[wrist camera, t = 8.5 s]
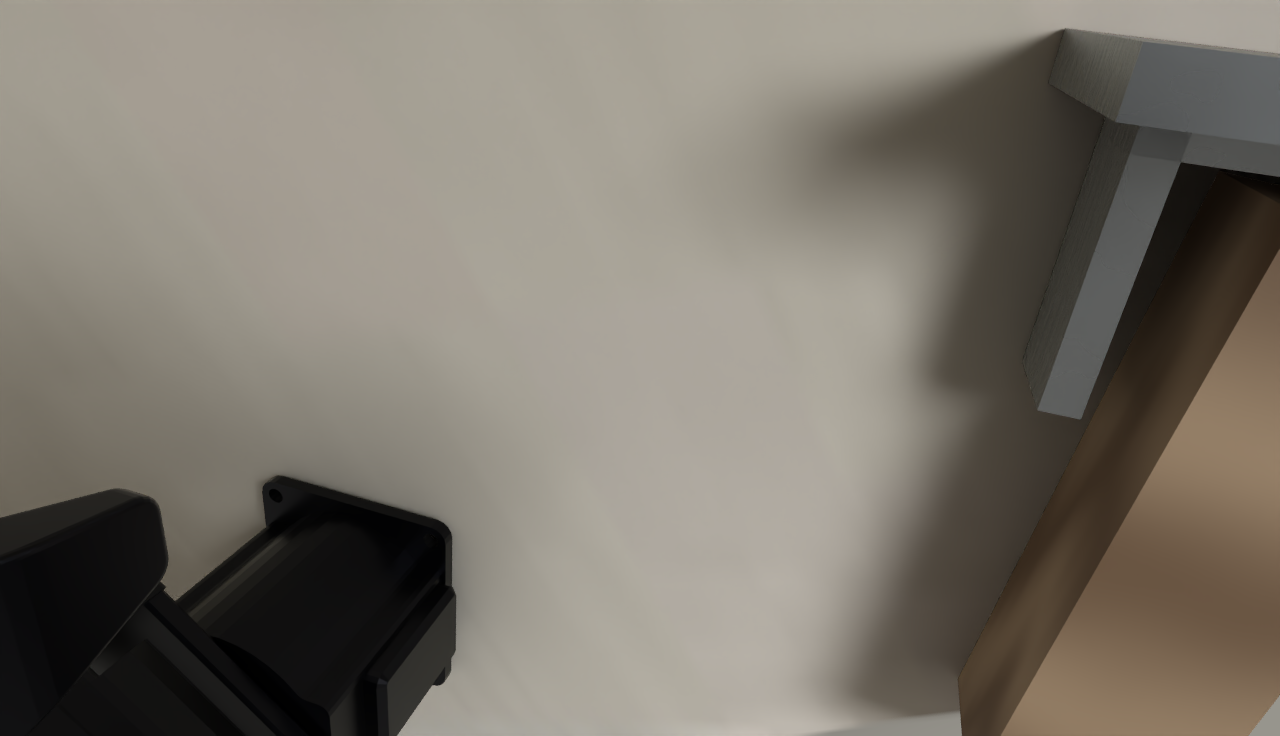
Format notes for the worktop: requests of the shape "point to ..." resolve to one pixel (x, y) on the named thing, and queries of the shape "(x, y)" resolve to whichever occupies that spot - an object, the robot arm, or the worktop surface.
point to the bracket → (1138, 180)
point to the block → (1160, 518)
